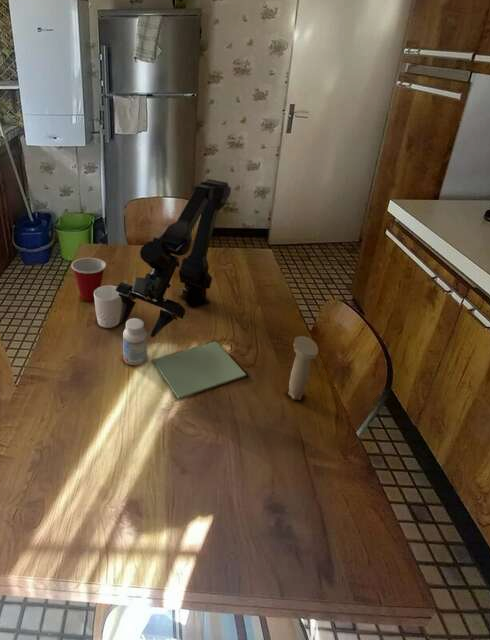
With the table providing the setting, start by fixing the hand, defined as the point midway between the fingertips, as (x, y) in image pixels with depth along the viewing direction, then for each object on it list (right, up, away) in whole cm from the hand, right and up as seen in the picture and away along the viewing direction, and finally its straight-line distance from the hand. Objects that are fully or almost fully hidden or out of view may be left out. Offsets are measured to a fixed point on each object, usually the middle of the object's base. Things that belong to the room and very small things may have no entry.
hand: (136, 330), depth 111 cm
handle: (+38, -14, -8) cm, 41 cm away
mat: (+16, -10, 0) cm, 19 cm away
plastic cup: (-16, +5, +29) cm, 34 cm away
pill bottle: (-1, -8, +3) cm, 9 cm away
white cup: (-9, -1, +18) cm, 20 cm away
